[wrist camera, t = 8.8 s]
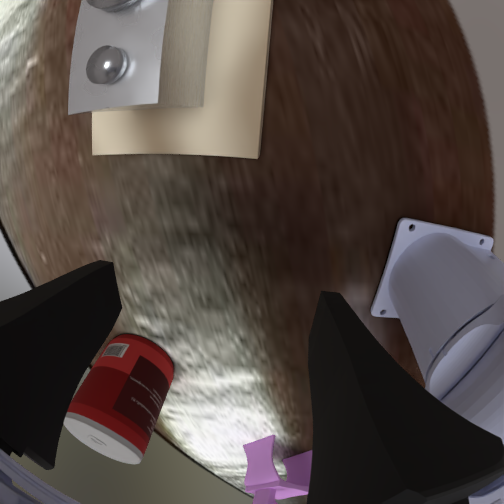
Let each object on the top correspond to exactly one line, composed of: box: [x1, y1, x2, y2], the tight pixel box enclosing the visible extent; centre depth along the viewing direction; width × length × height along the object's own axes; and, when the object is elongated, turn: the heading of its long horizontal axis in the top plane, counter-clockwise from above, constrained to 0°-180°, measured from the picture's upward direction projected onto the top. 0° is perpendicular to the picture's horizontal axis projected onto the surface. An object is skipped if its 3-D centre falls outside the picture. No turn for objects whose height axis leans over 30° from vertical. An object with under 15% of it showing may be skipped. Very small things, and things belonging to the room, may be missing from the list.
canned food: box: [63, 334, 174, 464], centre depth 22 cm, size 8×8×11 cm
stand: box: [92, 0, 273, 159], centre depth 13 cm, size 11×13×2 cm
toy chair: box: [243, 435, 312, 504], centre depth 26 cm, size 8×9×15 cm
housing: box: [68, 0, 213, 115], centre depth 9 cm, size 8×4×7 cm, turn 176°
